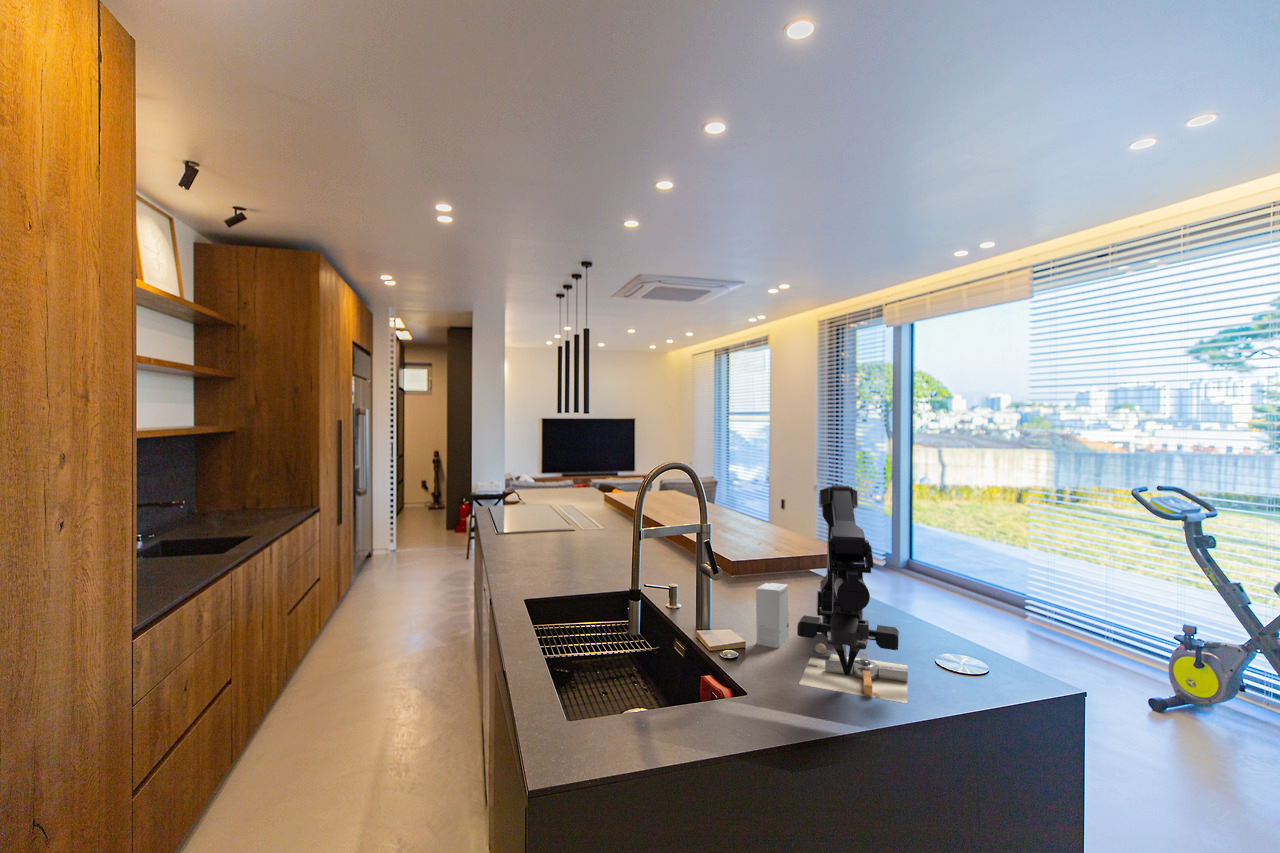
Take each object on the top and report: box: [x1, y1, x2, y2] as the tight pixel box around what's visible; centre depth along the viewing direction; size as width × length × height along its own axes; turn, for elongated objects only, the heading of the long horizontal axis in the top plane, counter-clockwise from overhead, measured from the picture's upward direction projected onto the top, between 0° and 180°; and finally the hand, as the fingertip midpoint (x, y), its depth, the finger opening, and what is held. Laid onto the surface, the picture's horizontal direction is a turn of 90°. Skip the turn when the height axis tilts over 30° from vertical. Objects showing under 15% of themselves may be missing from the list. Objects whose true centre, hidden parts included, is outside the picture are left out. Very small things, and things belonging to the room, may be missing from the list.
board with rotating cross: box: [798, 642, 909, 704], centre depth 125 cm, size 20×20×4 cm
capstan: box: [825, 651, 909, 697], centre depth 124 cm, size 16×18×3 cm
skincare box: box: [755, 582, 790, 649], centre depth 146 cm, size 8×6×15 cm
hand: (847, 675), depth 119 cm, fingers closed
